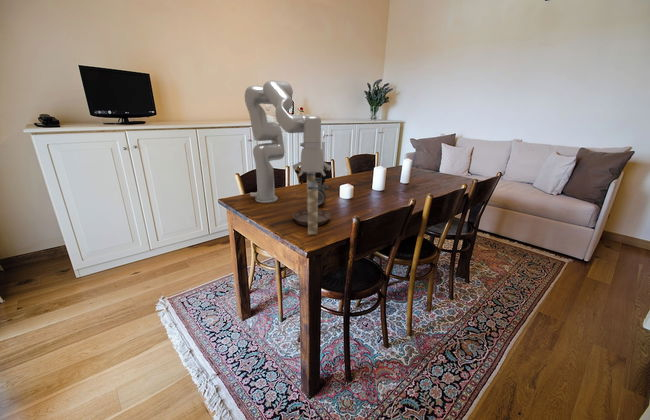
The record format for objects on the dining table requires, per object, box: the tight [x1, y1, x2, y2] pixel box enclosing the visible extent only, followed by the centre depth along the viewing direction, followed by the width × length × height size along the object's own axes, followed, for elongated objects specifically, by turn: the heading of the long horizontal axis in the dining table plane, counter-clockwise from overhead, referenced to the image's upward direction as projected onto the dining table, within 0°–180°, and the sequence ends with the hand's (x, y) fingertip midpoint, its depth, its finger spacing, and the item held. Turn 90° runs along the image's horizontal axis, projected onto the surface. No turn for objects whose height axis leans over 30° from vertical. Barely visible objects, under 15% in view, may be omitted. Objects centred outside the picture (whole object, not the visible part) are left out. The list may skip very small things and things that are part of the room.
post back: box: [306, 173, 317, 209], centre depth 142 cm, size 4×8×21 cm, turn 4°
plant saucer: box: [292, 208, 331, 227], centre depth 134 cm, size 18×18×3 cm
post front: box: [307, 182, 319, 236], centre depth 120 cm, size 4×8×21 cm, turn 4°
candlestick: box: [320, 133, 330, 191], centre depth 181 cm, size 11×11×35 cm
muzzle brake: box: [315, 176, 326, 206], centre depth 162 cm, size 10×28×10 cm, turn 1°
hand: (311, 184), depth 128 cm, fingers open, 9 cm apart
